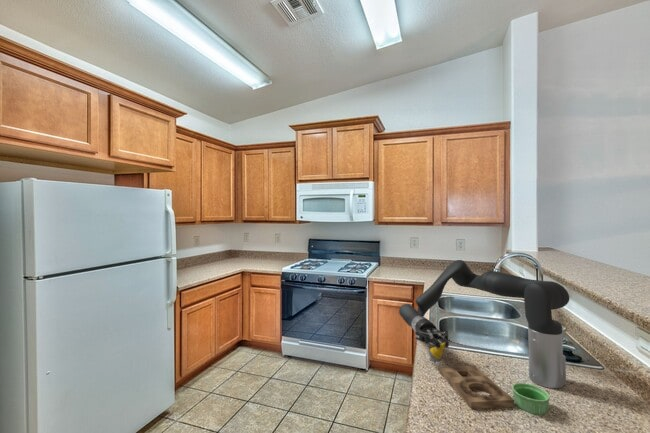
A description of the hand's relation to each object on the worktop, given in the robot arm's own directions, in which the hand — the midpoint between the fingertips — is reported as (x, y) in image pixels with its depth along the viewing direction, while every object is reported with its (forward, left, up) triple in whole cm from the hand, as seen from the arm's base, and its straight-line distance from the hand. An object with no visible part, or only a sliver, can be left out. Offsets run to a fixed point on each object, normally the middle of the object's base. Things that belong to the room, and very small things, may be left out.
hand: (442, 344), depth 106 cm
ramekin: (-16, +21, -10) cm, 28 cm away
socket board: (-5, +11, -9) cm, 15 cm away
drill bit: (0, -3, -7) cm, 7 cm away
